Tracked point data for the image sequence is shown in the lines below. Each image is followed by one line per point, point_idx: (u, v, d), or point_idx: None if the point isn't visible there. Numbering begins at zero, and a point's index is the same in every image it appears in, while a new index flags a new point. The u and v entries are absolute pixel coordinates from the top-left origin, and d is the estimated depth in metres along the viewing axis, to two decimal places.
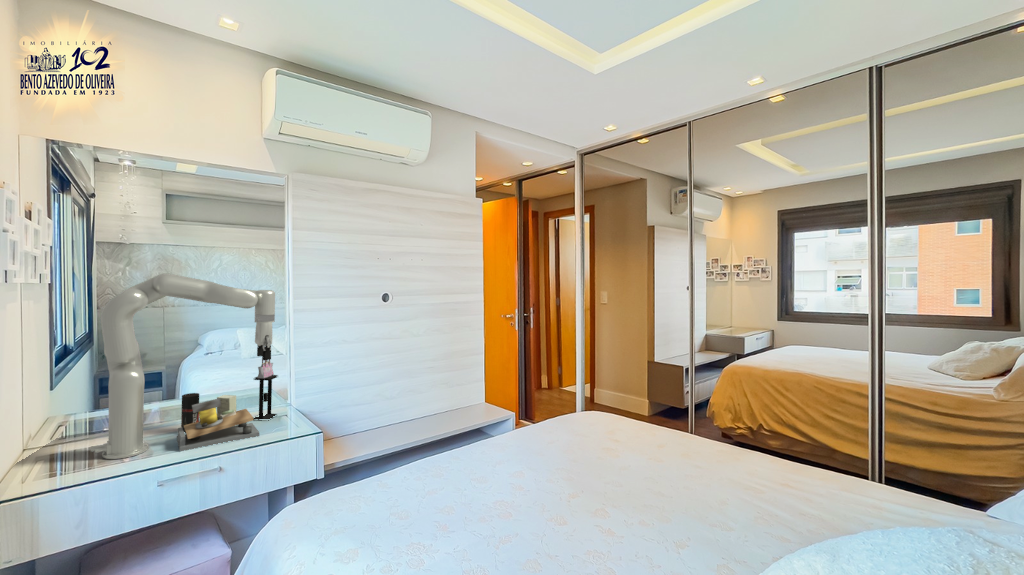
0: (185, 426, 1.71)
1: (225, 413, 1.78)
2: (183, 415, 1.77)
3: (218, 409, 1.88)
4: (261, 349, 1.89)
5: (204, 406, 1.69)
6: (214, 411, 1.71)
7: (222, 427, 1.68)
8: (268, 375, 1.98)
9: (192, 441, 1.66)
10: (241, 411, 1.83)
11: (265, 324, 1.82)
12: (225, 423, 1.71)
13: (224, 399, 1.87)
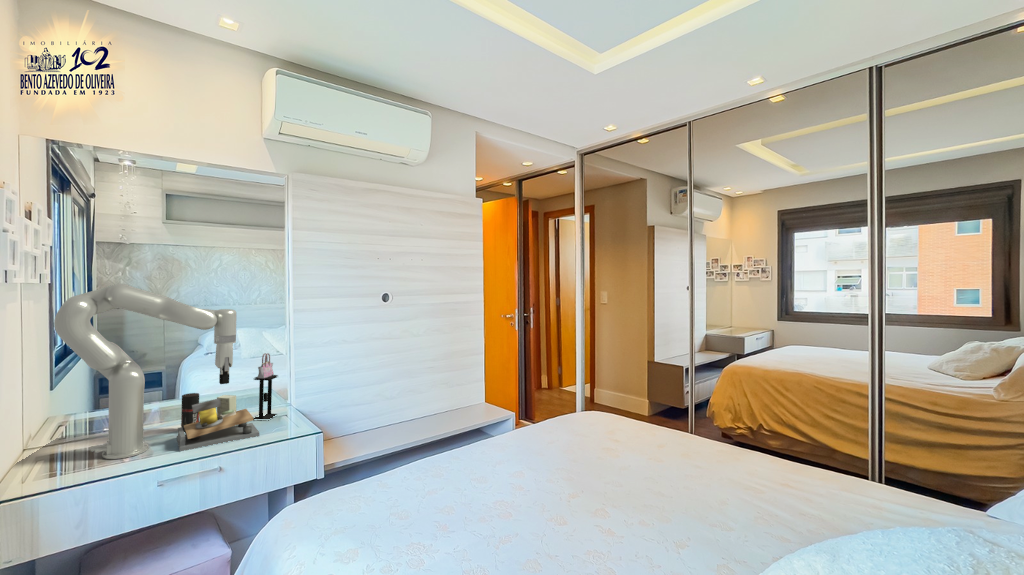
0: (185, 426, 1.71)
1: (225, 413, 1.78)
2: (183, 415, 1.77)
3: (218, 409, 1.88)
4: None
5: (204, 406, 1.69)
6: (214, 411, 1.71)
7: (222, 427, 1.68)
8: (268, 375, 1.98)
9: (192, 441, 1.66)
10: (241, 411, 1.83)
11: (225, 345, 1.73)
12: (225, 423, 1.71)
13: (224, 399, 1.87)
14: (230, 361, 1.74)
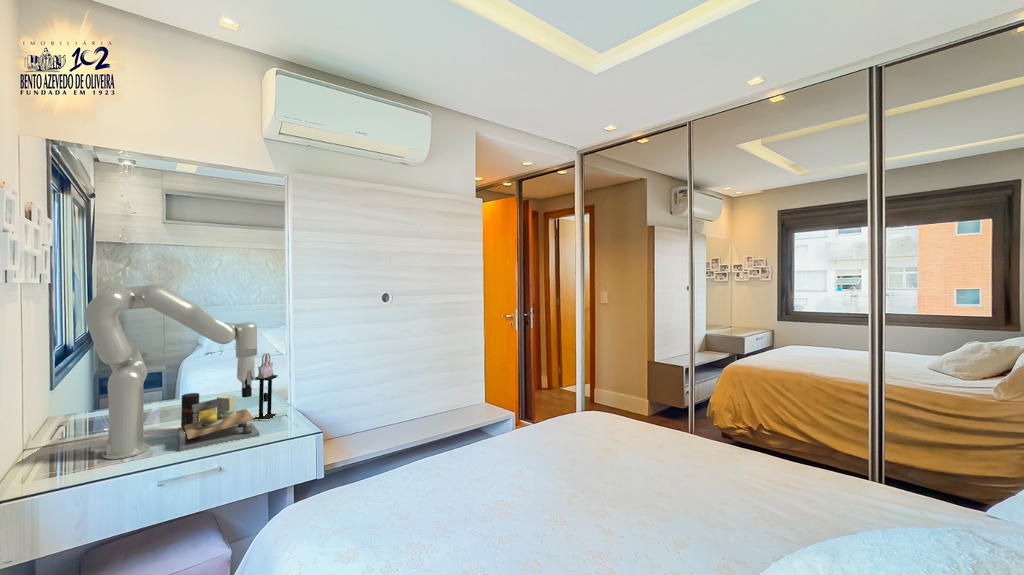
0: (185, 426, 1.71)
1: (225, 413, 1.78)
2: (183, 415, 1.77)
3: (218, 409, 1.88)
4: None
5: (204, 406, 1.69)
6: (214, 411, 1.71)
7: (222, 427, 1.68)
8: (268, 375, 1.98)
9: (192, 441, 1.66)
10: (241, 411, 1.83)
11: (247, 359, 1.73)
12: (225, 423, 1.71)
13: (224, 399, 1.87)
14: (252, 374, 1.75)
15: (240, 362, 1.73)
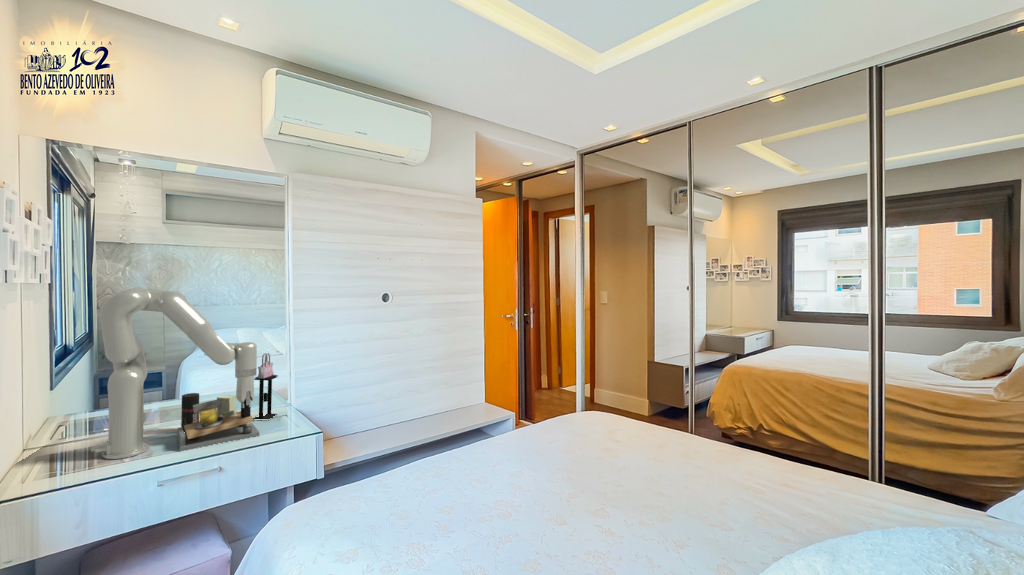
0: (185, 426, 1.71)
1: (225, 414, 1.78)
2: (183, 415, 1.77)
3: (218, 409, 1.88)
4: None
5: (205, 406, 1.69)
6: (214, 411, 1.71)
7: (222, 428, 1.69)
8: (268, 375, 1.98)
9: (192, 441, 1.66)
10: None
11: (246, 380, 1.74)
12: (225, 424, 1.71)
13: (224, 399, 1.87)
14: (251, 395, 1.75)
15: (239, 382, 1.74)
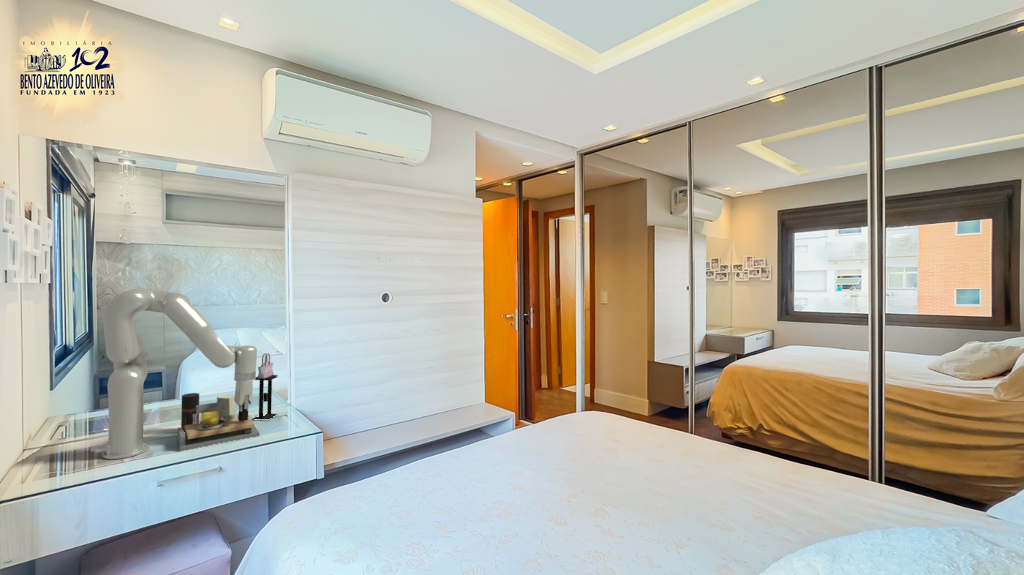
0: (186, 426, 1.71)
1: (226, 417, 1.78)
2: (183, 415, 1.77)
3: None
4: None
5: (208, 408, 1.70)
6: (217, 414, 1.71)
7: (223, 431, 1.69)
8: (268, 375, 1.98)
9: (192, 441, 1.66)
10: None
11: (245, 383, 1.73)
12: (226, 427, 1.71)
13: (224, 399, 1.87)
14: (250, 398, 1.74)
15: (238, 386, 1.73)
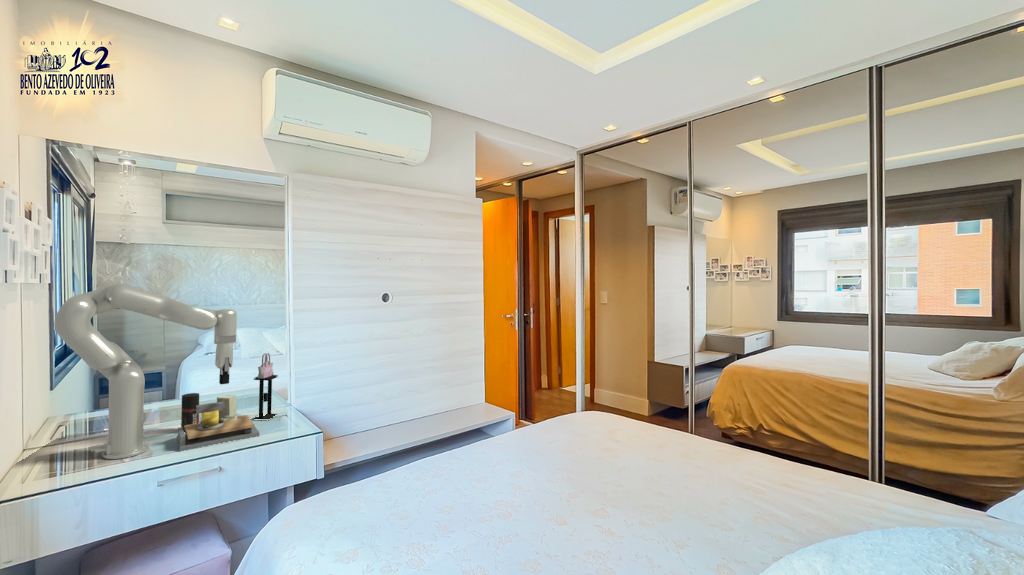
0: (186, 426, 1.71)
1: (226, 417, 1.78)
2: (183, 415, 1.77)
3: None
4: None
5: (208, 408, 1.70)
6: (217, 414, 1.71)
7: (223, 431, 1.69)
8: (268, 375, 1.98)
9: (192, 441, 1.66)
10: (242, 417, 1.83)
11: (225, 346, 1.73)
12: (226, 427, 1.71)
13: (224, 399, 1.87)
14: (230, 361, 1.74)
15: (218, 348, 1.73)
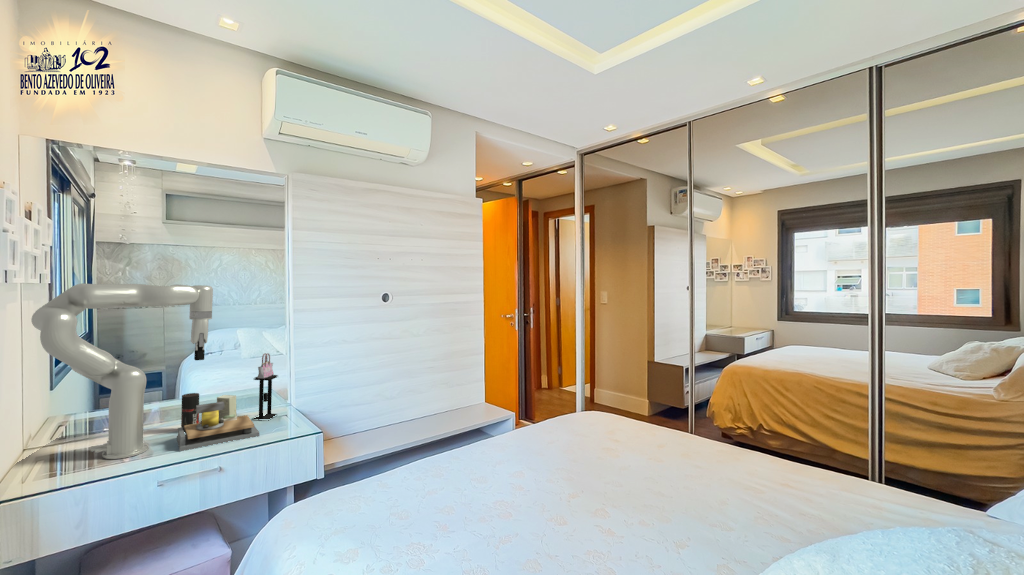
0: (186, 426, 1.71)
1: (226, 417, 1.78)
2: (183, 415, 1.77)
3: None
4: None
5: (208, 408, 1.70)
6: (217, 414, 1.71)
7: (223, 431, 1.69)
8: (268, 375, 1.98)
9: (192, 441, 1.66)
10: (242, 417, 1.83)
11: (199, 321, 1.73)
12: (226, 427, 1.71)
13: (224, 399, 1.87)
14: (205, 337, 1.74)
15: (193, 324, 1.73)
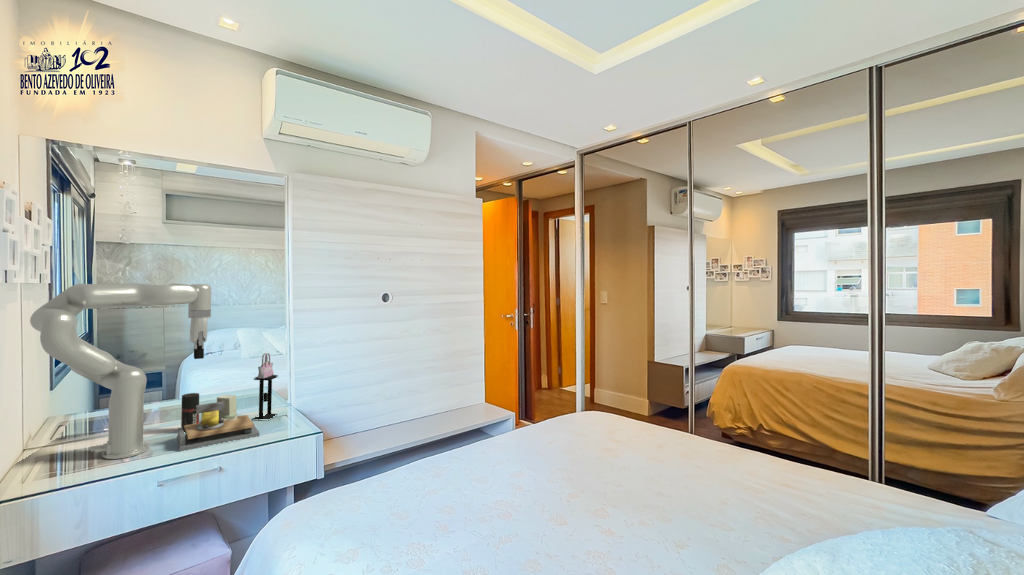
0: (186, 426, 1.71)
1: (226, 417, 1.78)
2: (183, 415, 1.77)
3: None
4: None
5: (208, 408, 1.70)
6: (217, 414, 1.71)
7: (223, 431, 1.69)
8: (268, 375, 1.98)
9: (192, 441, 1.66)
10: (242, 417, 1.83)
11: (198, 320, 1.73)
12: (226, 427, 1.71)
13: (224, 399, 1.87)
14: (204, 336, 1.74)
15: (192, 323, 1.73)
